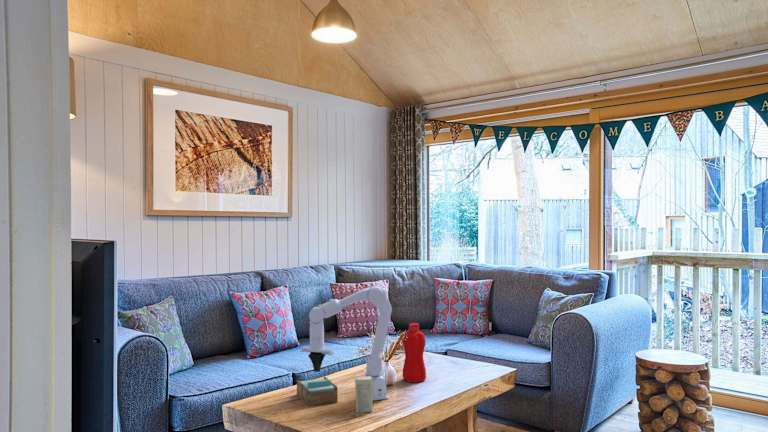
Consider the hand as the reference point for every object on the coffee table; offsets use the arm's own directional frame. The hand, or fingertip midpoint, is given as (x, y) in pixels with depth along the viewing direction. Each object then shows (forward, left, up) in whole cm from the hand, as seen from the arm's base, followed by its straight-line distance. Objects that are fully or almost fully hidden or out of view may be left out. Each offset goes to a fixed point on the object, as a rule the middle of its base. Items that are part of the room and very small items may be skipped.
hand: (317, 371), depth 231 cm
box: (-2, +1, -10) cm, 10 cm away
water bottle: (+5, -45, -11) cm, 47 cm away
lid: (-2, +1, -5) cm, 6 cm away
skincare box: (-23, -11, -11) cm, 27 cm away
